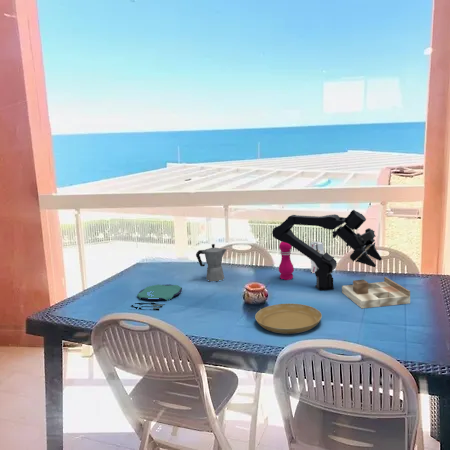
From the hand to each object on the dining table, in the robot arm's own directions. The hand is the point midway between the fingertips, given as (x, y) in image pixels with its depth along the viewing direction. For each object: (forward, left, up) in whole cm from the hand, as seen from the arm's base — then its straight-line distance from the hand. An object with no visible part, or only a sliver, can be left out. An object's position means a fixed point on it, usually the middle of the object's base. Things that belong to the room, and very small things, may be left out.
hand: (378, 263), depth 190 cm
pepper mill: (-30, +34, -14) cm, 48 cm away
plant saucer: (-44, -20, -14) cm, 51 cm away
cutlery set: (-93, +23, -14) cm, 97 cm away
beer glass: (-13, +39, -14) cm, 44 cm away
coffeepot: (-65, +43, -14) cm, 80 cm away
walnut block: (-9, -4, -10) cm, 15 cm away
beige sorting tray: (-3, -4, -13) cm, 14 cm away
